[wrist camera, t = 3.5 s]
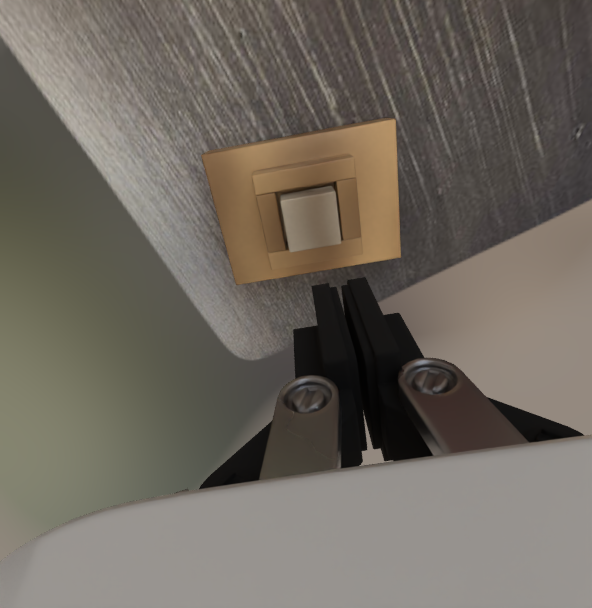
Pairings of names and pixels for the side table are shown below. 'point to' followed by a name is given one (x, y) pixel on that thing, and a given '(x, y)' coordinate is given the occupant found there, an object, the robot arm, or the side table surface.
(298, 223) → the ivory key
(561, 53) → the side table surface
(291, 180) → the tiered wooden pedestal
